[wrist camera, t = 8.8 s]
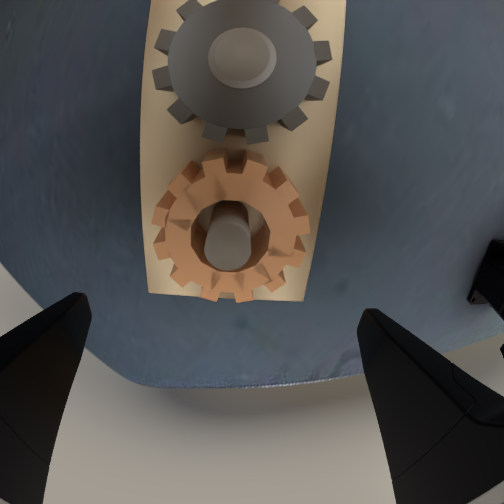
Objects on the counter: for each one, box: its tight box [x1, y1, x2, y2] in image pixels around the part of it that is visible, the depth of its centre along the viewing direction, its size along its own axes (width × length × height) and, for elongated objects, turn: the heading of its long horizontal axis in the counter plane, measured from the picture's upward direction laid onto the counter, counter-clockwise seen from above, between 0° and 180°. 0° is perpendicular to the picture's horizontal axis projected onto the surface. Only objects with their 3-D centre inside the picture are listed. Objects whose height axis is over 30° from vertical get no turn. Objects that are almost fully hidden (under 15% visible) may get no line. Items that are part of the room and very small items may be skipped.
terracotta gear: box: [151, 148, 310, 303], centre depth 15 cm, size 7×7×3 cm
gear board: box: [140, 0, 346, 301], centre depth 13 cm, size 10×19×6 cm, turn 175°
